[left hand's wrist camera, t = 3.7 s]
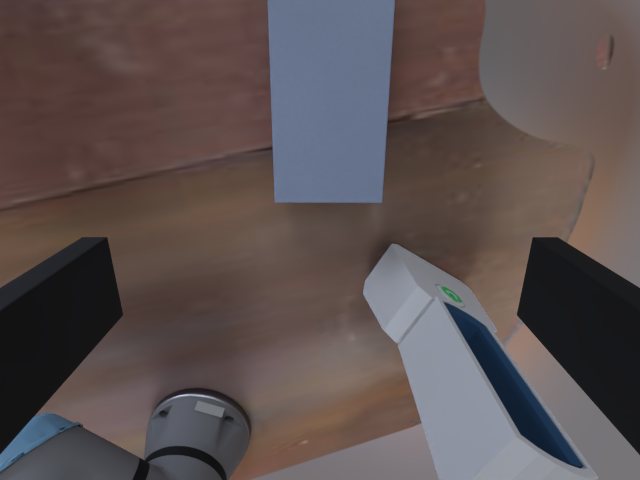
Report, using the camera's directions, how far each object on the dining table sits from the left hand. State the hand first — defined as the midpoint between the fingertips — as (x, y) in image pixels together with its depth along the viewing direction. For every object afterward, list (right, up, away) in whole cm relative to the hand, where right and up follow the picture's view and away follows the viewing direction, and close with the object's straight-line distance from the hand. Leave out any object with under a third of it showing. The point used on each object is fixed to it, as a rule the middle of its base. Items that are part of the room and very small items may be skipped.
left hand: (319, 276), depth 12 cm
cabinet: (+1, +18, +31) cm, 36 cm away
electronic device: (+12, -5, +40) cm, 42 cm away
